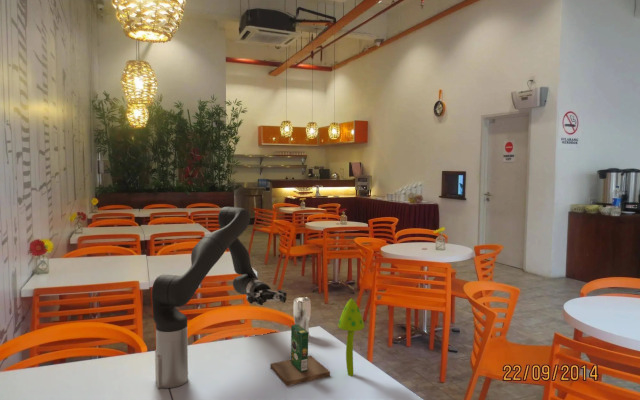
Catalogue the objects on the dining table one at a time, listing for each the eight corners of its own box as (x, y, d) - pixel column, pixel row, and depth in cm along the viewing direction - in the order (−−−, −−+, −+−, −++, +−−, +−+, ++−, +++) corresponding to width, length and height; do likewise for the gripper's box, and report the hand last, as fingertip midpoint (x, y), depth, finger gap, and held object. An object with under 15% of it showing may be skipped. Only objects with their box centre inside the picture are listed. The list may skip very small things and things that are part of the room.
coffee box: (308, 371, 139) (309, 331, 138) (300, 373, 138) (300, 332, 137) (298, 361, 146) (298, 323, 146) (290, 363, 145) (290, 324, 144)
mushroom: (342, 382, 135) (343, 303, 134) (334, 370, 144) (335, 295, 142) (367, 378, 138) (368, 301, 136) (358, 367, 146) (359, 294, 144)
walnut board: (287, 386, 132) (287, 381, 132) (270, 368, 145) (270, 363, 145) (330, 376, 139) (330, 371, 139) (310, 359, 152) (310, 355, 152)
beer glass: (310, 339, 170) (310, 302, 169) (292, 339, 170) (292, 301, 169) (310, 333, 177) (311, 297, 176) (293, 333, 177) (294, 296, 176)
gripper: (240, 282, 166) (254, 292, 151) (275, 279, 172) (291, 288, 158) (240, 302, 166) (254, 314, 151) (275, 298, 172) (291, 309, 158)
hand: (273, 301), depth 154 cm, fingers open, 8 cm apart
